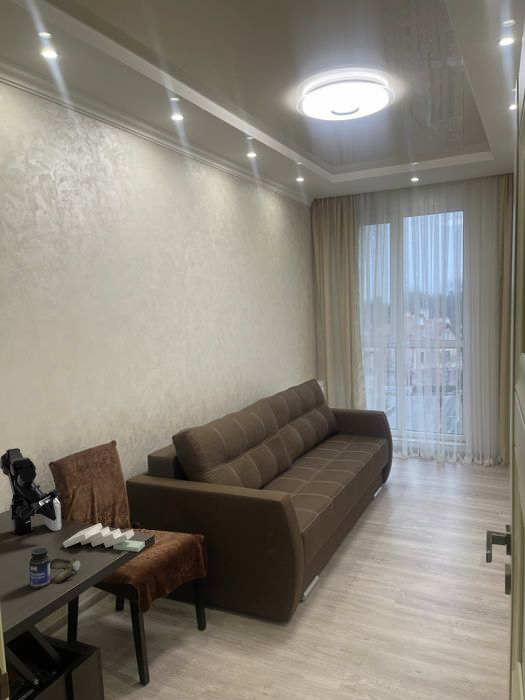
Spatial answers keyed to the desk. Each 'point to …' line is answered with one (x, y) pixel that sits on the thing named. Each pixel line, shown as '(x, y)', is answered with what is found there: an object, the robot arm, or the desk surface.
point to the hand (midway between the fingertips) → (55, 519)
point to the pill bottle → (39, 568)
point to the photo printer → (57, 523)
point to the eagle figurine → (66, 566)
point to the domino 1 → (82, 535)
